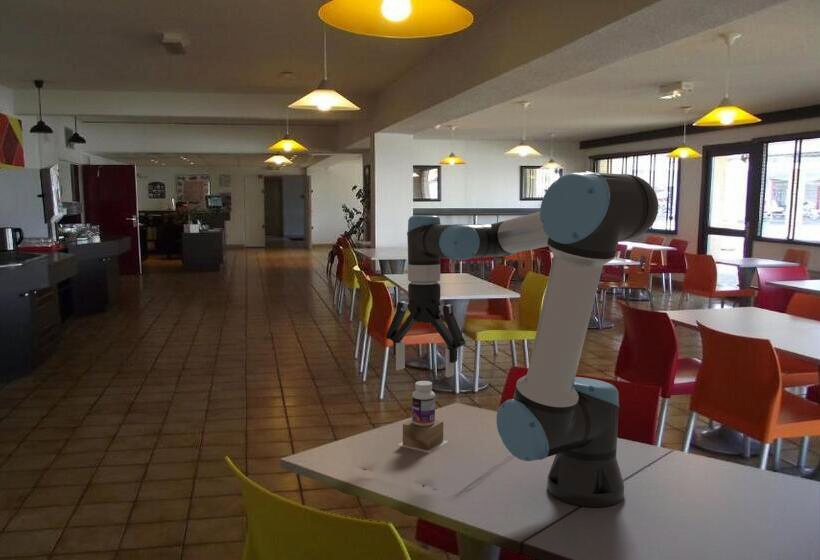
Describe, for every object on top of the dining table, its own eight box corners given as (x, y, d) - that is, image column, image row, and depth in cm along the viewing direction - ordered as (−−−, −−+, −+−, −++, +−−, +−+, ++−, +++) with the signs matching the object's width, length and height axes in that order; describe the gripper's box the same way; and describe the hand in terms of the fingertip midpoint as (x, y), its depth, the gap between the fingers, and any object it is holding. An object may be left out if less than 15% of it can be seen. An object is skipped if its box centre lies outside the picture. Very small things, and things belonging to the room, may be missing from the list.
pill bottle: (409, 420, 161) (409, 380, 160) (430, 418, 162) (430, 379, 161) (416, 427, 156) (416, 386, 154) (438, 425, 157) (438, 384, 156)
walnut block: (443, 441, 161) (443, 421, 160) (428, 450, 155) (428, 429, 154) (418, 436, 164) (418, 416, 164) (402, 444, 158) (402, 424, 158)
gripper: (479, 283, 152) (479, 375, 154) (389, 278, 165) (389, 363, 167) (464, 286, 145) (464, 382, 147) (371, 281, 159) (372, 369, 161)
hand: (424, 372), depth 157 cm, fingers open, 13 cm apart
